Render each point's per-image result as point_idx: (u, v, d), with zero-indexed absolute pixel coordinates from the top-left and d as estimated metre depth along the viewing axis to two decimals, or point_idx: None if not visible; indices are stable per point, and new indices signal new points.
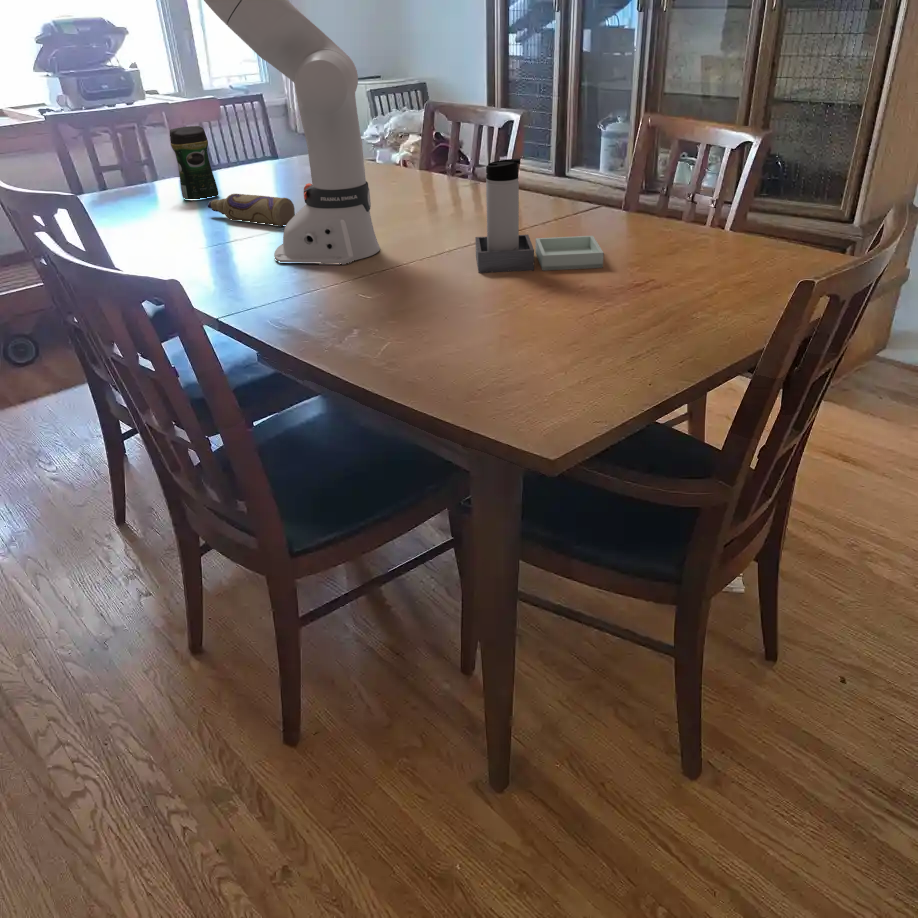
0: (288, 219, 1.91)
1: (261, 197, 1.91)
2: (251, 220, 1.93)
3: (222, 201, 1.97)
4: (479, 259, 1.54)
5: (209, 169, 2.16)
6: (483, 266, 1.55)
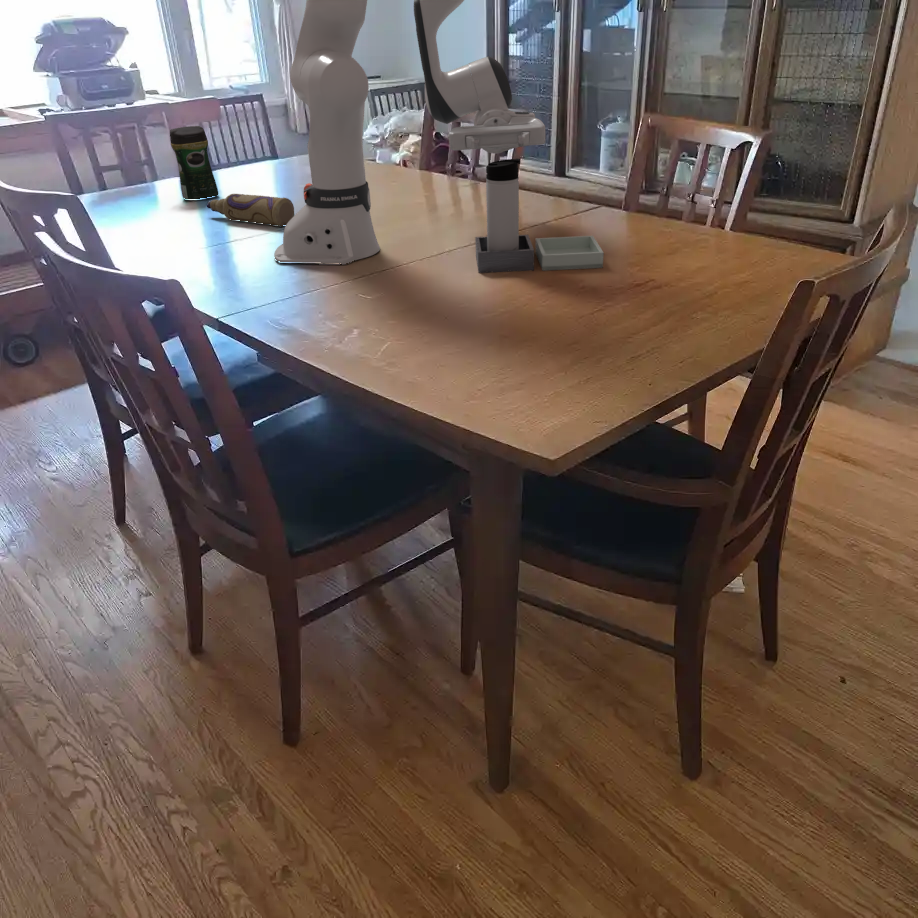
0: (288, 219, 1.91)
1: (261, 197, 1.91)
2: (251, 220, 1.93)
3: (221, 201, 1.97)
4: (479, 259, 1.54)
5: (209, 169, 2.16)
6: (483, 266, 1.55)
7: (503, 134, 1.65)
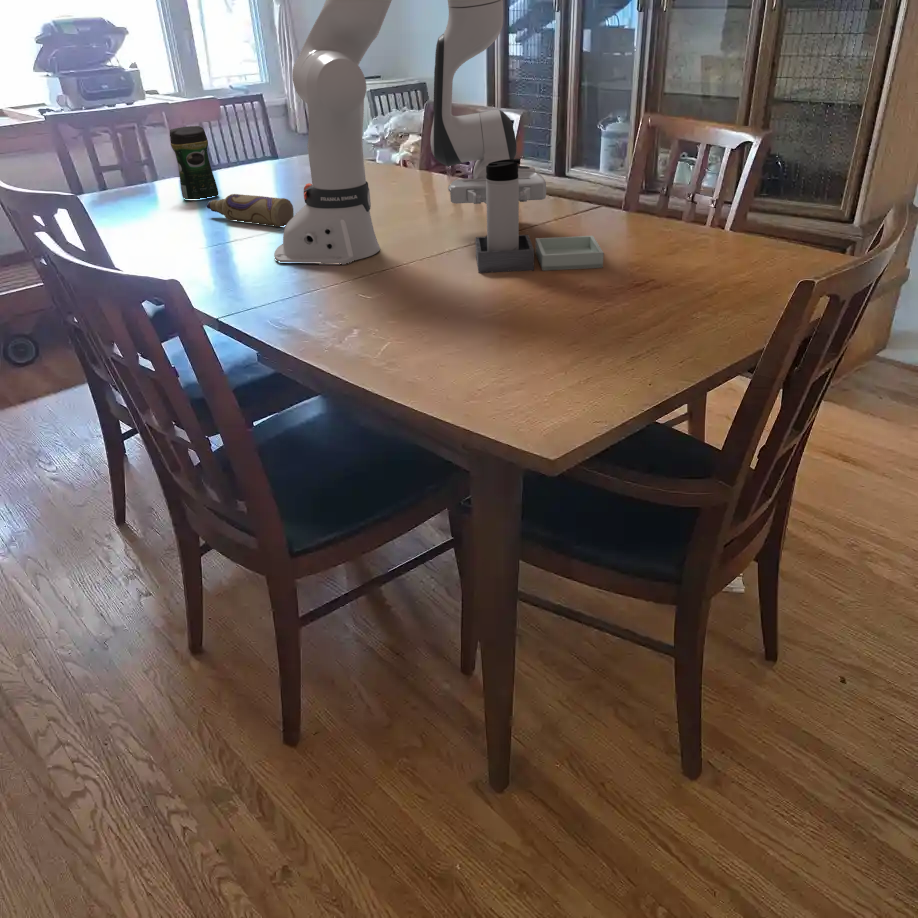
0: (287, 220, 1.91)
1: (260, 197, 1.91)
2: (250, 220, 1.93)
3: (221, 201, 1.97)
4: (479, 259, 1.54)
5: (209, 169, 2.16)
6: (483, 266, 1.55)
7: None
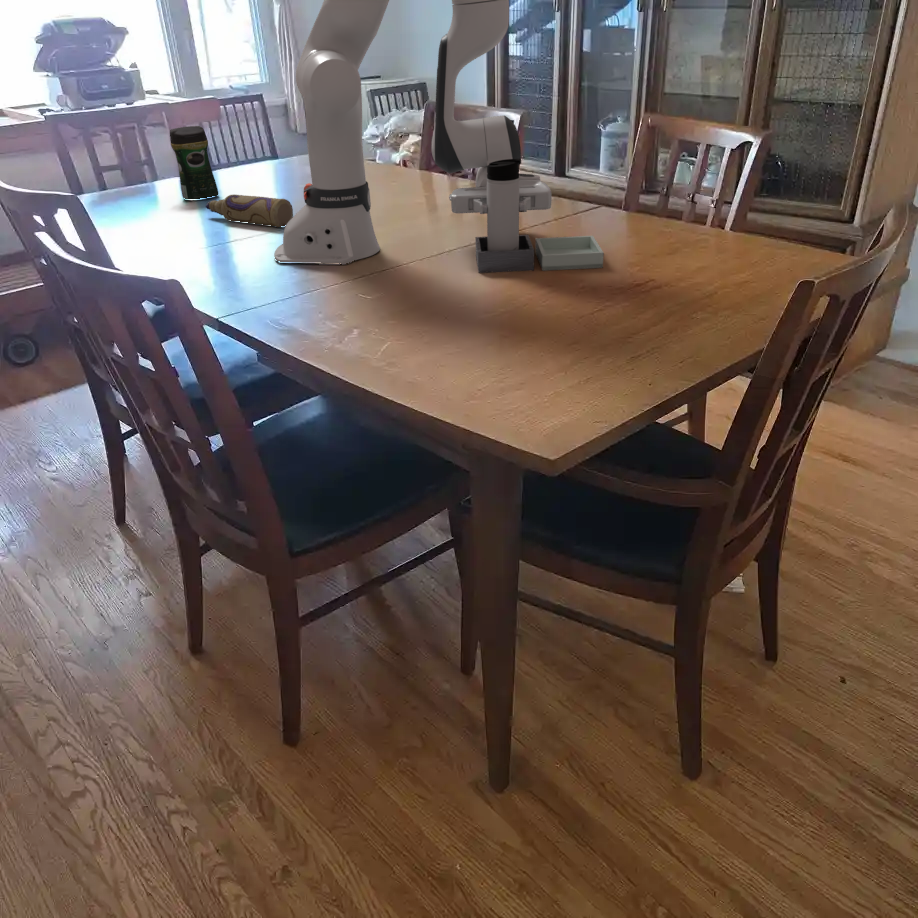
0: (286, 220, 1.91)
1: (259, 198, 1.91)
2: (249, 221, 1.92)
3: (220, 202, 1.97)
4: (479, 259, 1.54)
5: (209, 169, 2.16)
6: (483, 266, 1.55)
7: None
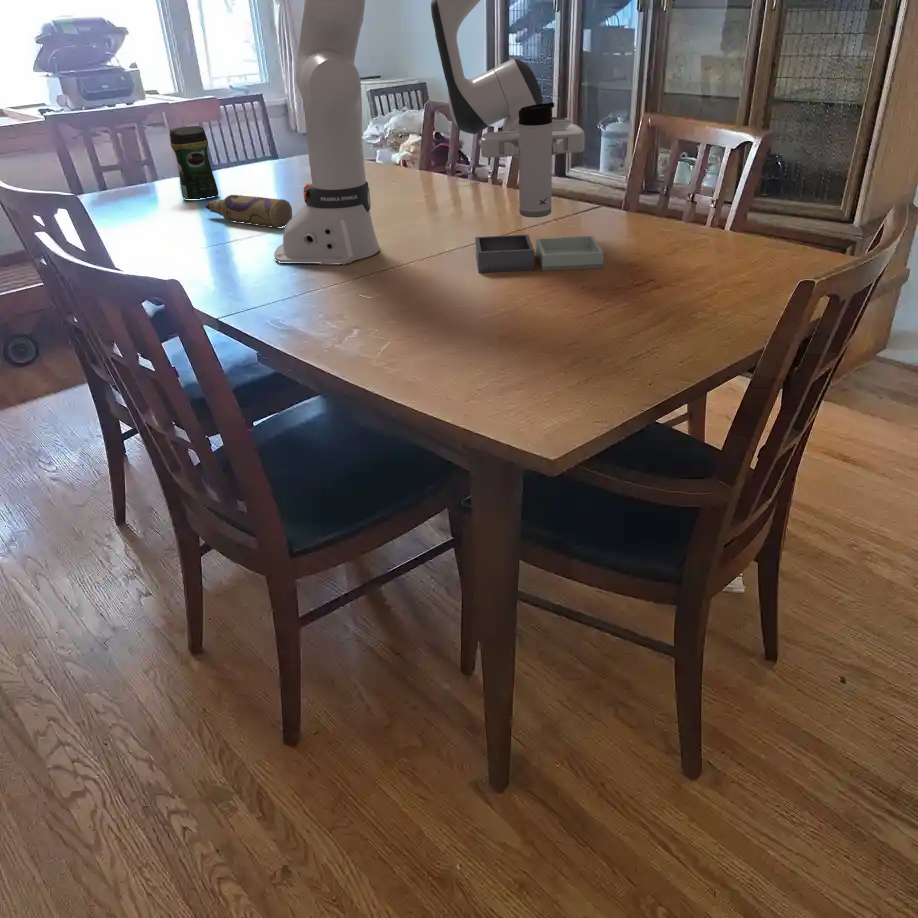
0: (285, 221, 1.90)
1: (258, 198, 1.90)
2: (248, 221, 1.92)
3: (220, 202, 1.96)
4: (479, 259, 1.54)
5: (209, 169, 2.16)
6: (483, 266, 1.55)
7: None
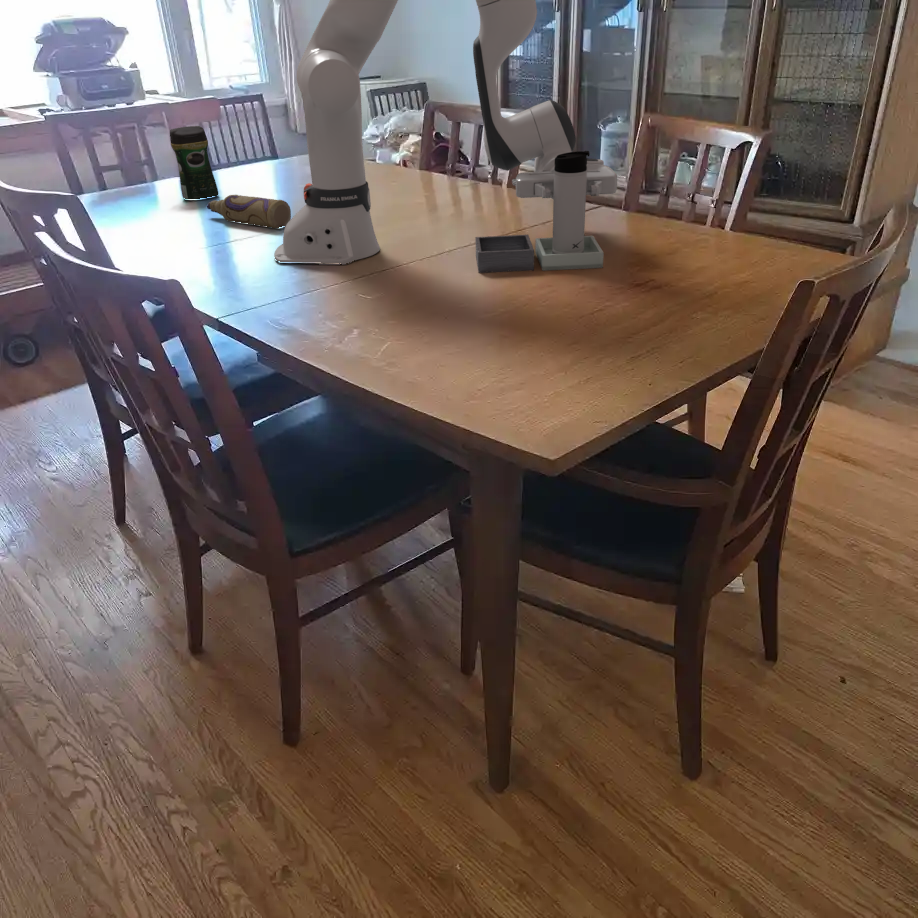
0: (283, 221, 1.89)
1: (257, 199, 1.90)
2: (247, 222, 1.92)
3: (220, 202, 1.96)
4: (479, 259, 1.54)
5: (209, 169, 2.16)
6: (483, 266, 1.55)
7: None
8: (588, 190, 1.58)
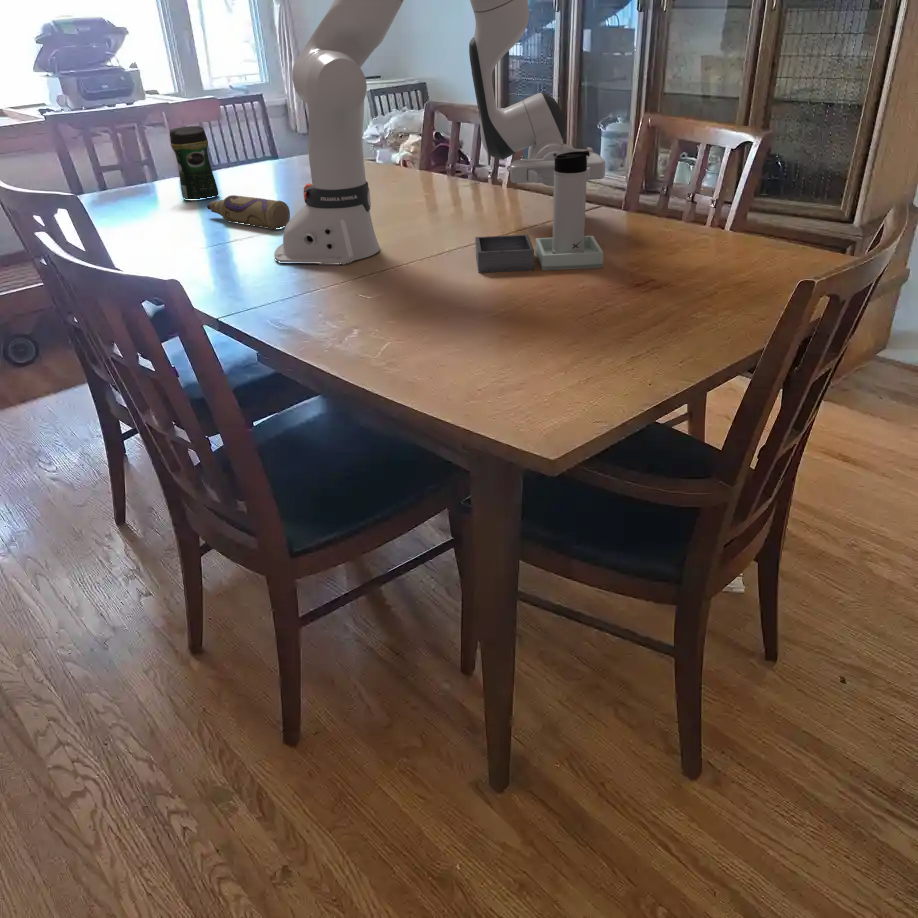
0: (282, 222, 1.89)
1: (256, 199, 1.90)
2: (246, 222, 1.91)
3: (220, 202, 1.96)
4: (479, 259, 1.54)
5: (209, 169, 2.16)
6: (483, 266, 1.55)
7: None
8: None
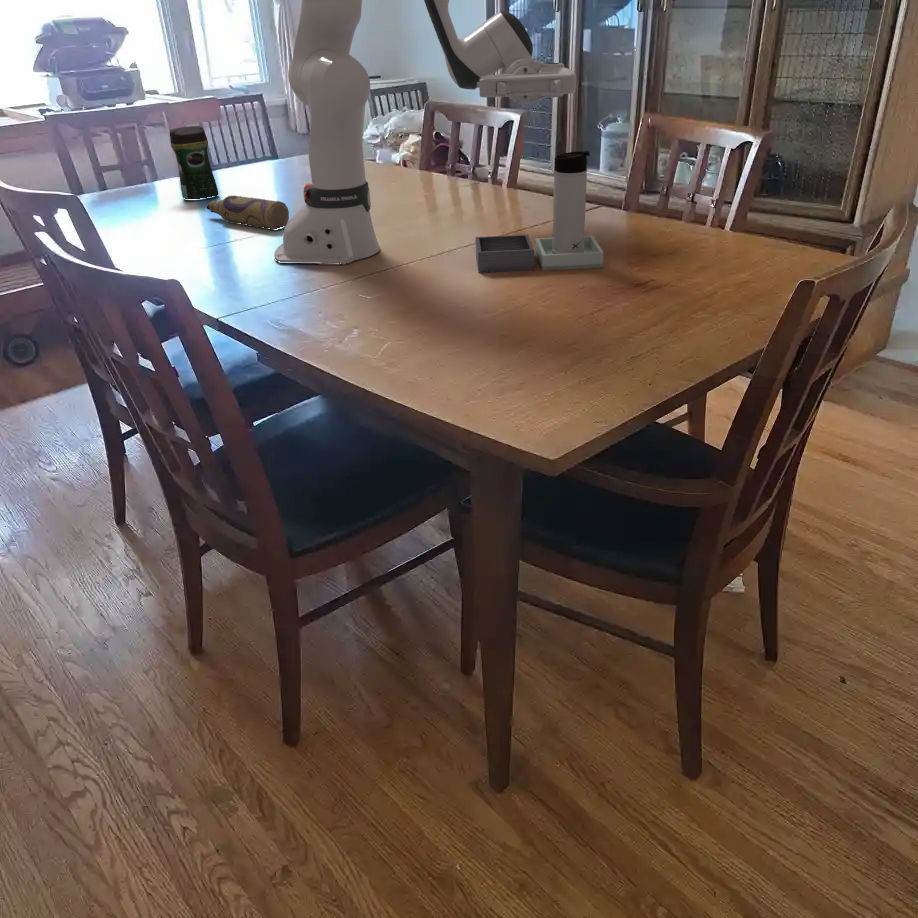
0: (281, 223, 1.89)
1: (255, 200, 1.89)
2: (245, 223, 1.91)
3: (219, 203, 1.96)
4: (479, 259, 1.54)
5: (209, 169, 2.16)
6: (483, 266, 1.55)
7: (533, 81, 1.64)
8: (548, 90, 1.65)
